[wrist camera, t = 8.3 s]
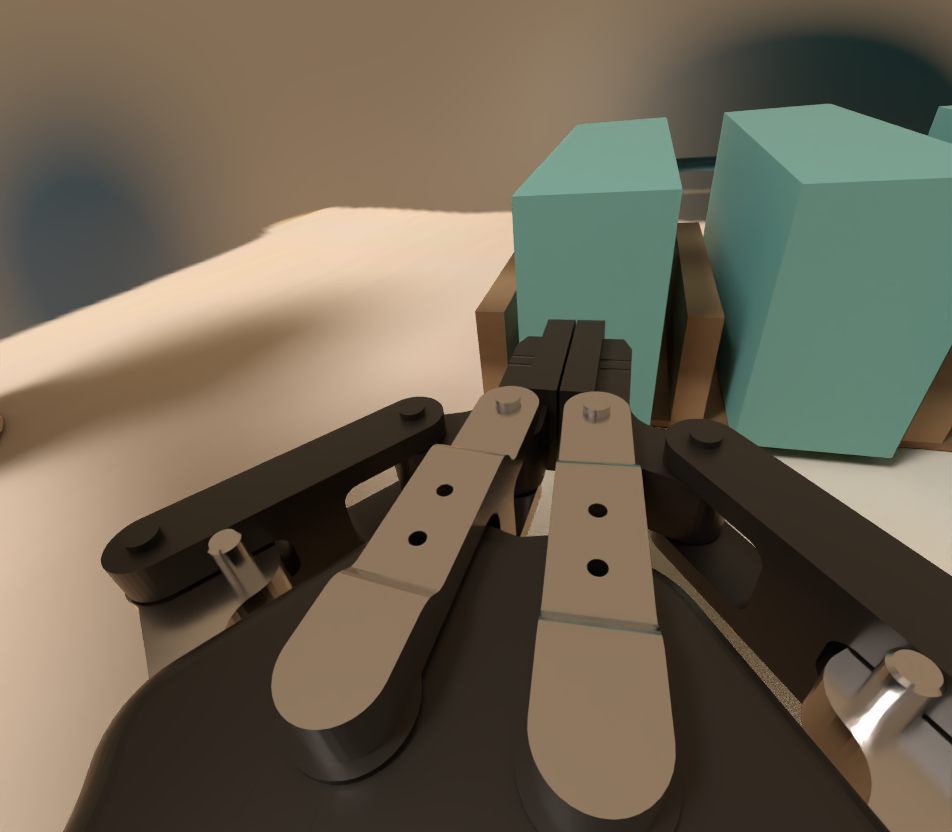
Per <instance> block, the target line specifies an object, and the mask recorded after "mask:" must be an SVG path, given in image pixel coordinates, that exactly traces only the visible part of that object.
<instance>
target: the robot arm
mask: <svg viewBox="0 0 952 832" xmlns="http://www.w3.org/2000/svg"><path fill="white" fill-rule="evenodd" d="M631 362H632V348H631V347H630V346H629V345H628V343H627V342H626V341H625V340H624V339H605V321H604V320H577V324H576V320H562V319H548V321H547V324H546V327H545V330H544V332H543V335H542V337H540V336H528V337H526V338H525V339H524V340H523V341H521V342H520V343H519V344H517V346H516V348H515V350H514V353H513V356H512V357H511V360H510V362H509V365H508V366H507V369H506V371H505V373H504V376H503V378H502V380H501V382H500V385H499V387H498V388H495V389H492V390H490V391H488V392H486V393H485V394H483V395H482V396H481V398H480V399H479V400H478V402H477V404H476V405H475V407H474V409H473V410H472V411H468V412H462V413H454V414H446V415H444V412H443V407H442V405H441V404H440V403H439V402H438V401H436V400H434V399H432V398H428V397H412V398H407V399H403V400H401V401H398V402H396V403H394V404H392V405H389V406H387V407H385V408H383V409H381V410H378V411H376V412H374V413H372V414H370V415H367V416H365V417H363V418H361V419H359V420H356V421H354V422H352V423H350V424H348V425H345V426H343V427H341V428H339V429H337V430H334V431H332V432H330V433H328V434H326V435H323V436H321V437H319V438H317V439H315V440H312V441H310V442H308V443H306V444H304V445H301V446H299V447H297V448H295V449H293V450H291V451H288V452H286V453H284V454H282V455H280V456H277V457H275V458H273V459H271V460H269V461H266V462H264V463H262V464H260V465H258V466H255V467H253V468H251V469H249V470H247V471H244V472H242V473H240V474H238V475H236V476H233V477H231V478H229V479H227V480H225V481H222V482H220V483H218V484H216V485H214V486H211V487H209V488H207V489H205V490H203V491H200V492H198V493H196V494H194V495H192V496H189V497H187V498H185V499H183V500H181V501H178V502H176V503H174V504H172V505H170V506H167V507H165V508H163V509H161V510H159V511H156V512H154V513H152V514H150V515H148V516H145V517H143V518H141V519H139V520H137V521H135V522H133V523H132V524H130V525H128V526H127V527H126V528H124V529H123V530H121V531H120V532H119V533H118V534H117V535H116V536H115V537H114V538H113V539H112V540H111V541H110V542H109V543H108V544H107V546H106V548H105V549H104V551H103V554H102V557H101V564H102V567H103V568H104V569H105V571H106V572H107V573H108V574H109V575H110V576H111V577H112V579H113V580H114V581H115V582H116V583H117V584H118V585H119V587H120V588H121V589H122V590H123V591H124V592H125V596H126V598H127V600H128V601H129V602H130V603H131V604H132V605H133V606H134V608H135V609H136V610H137V611H138V612H139V614H140V620H141V627H142V633H143V640H144V646H145V653H146V659H147V666H148V672H149V680H148V681H147V682H146V683H145V684H144V685H143V686H141V687H140V688H139V689H138V690H137V691H136V692H135V693H134V694H133V696H132V697H131V698H130V699H129V700H128V701H127V702H126V703H125V705H124V706H123V707H122V708H121V710H120V711H119V712H118V714H117V715H116V716H115V718H114V719H113V721H112V722H111V724H110V725H109V727H108V729H107V730H106V732H105V733H104V735H103V737H102V739H101V741H100V743H99V745H98V747H97V749H96V751H95V753H94V756H93V759H92V761H91V764H90V767H89V770H88V773H87V776H86V779H85V782H84V785H83V787H82V790H81V793H80V795H79V798H78V800H77V803H76V805H75V807H74V810H73V812H72V815H71V817H70V819H69V821H68V823H67V825H66V827H65V829H64V831H63V832H952V576H951V575H949V574H948V573H946V572H945V571H943V570H942V569H940V568H939V567H937V566H936V565H934V564H933V563H931V562H930V561H928V560H927V559H925V558H924V557H922V556H921V555H919V554H918V553H916V552H915V551H913V550H912V549H911V548H909V547H908V546H906V545H905V544H903V543H902V542H900V541H899V540H897V539H896V538H894V537H893V536H891V535H890V534H888V533H887V532H885V531H884V530H882V529H881V528H879V527H878V526H876V525H875V524H873V523H872V522H870V521H869V520H867V519H866V518H864V517H863V516H862V515H860V514H859V513H857V512H856V511H854V510H853V509H851V508H850V507H848V506H847V505H845V504H844V503H842V502H841V501H839V500H838V499H836V498H835V497H833V496H832V495H830V494H829V493H827V492H826V491H824V490H823V489H821V488H820V487H818V486H817V485H815V484H814V483H813V482H811V481H810V480H808V479H807V478H805V477H804V476H802V475H801V474H799V473H798V472H796V471H795V470H793V469H792V468H790V467H789V466H787V465H786V464H784V463H783V462H781V461H780V460H778V459H777V458H775V457H774V456H772V455H771V454H769V453H768V452H766V451H765V450H764V449H762V448H761V447H759V446H758V445H756V444H755V443H753V442H752V441H750V440H749V439H747V438H746V437H744V436H743V435H741V434H740V433H738V432H737V431H735V430H734V429H732V428H730V427H729V426H727V425H725V424H722V423H719V422H716V421H712V420H707V419H687V420H682V421H679V422H677V423H675V424H673V425H672V426H671V427H670V428H669V429H668V431H665V430H661V429H658V428H655V427H652V426H649V425H647V424H645V423H643V422H642V421H640V420H639V419H638V418H636V416H635V415H634V414H633V413H632V411H631V409H630V385H631V364H632V363H631ZM3 423H4V421H3V419H2V417H1V415H0V432H1V431H2V428H3ZM393 466H395V468H396V472H397V475H398V479H399V481H397V482H396V483H394V484H392V485H390V486H388V487H386V488H384V489H383V490H381V491H379V492H377V493H375V494H373V495H371V496H370V497H368V498H366V499H364V500H362V501H360V502H358V503H356V504H355V505H353V506H351V507H349V508H346V505H345V499H346V496H347V494H348V493H349V491H350V490H351V489H352V488H353V487H355V486H356V485H358V484H360V483H362V482H364V481H366V480H368V479H370V478H372V477H374V476H376V475H377V474H379V473H381V472H383V471H385V470H387V469H389V468H391V467H393ZM545 470H553V471H555V478H554V488H553V498H552V508H551V517H550V527H549V536H531V537H527V534H528V531H529V528H530V526H531V523H532V520H533V517H534V514H535V511H536V508H537V505H538V502H539V500H540V497H541V493H542V489H541V483H542V481H543V478H544V474H545ZM725 519H726V520H727V521H728V522H729V523H730V524H731V525H733V526H734V527H735V528H736V529H737V530H738V531H740V532H741V533H742V534H743V535H744V536H745V537H746V538H748V539H749V540H750V541H751V542H752V543H753V545H754V546H755V547H756V548H755V547H754V546H753V545H752V544H751V543H749V542H748V541H747V540H746V539H745V538H744V537H743V536H741V535H740V534H739V533H738V532H737V531H736V530H735V529H733V528H732V527H731V526H730V525H729V524H728V523H727V522H725ZM648 529H649V530H651V531H650V533H651V538H652V540H653V542H654V544H655V545H656V547H657V548H658V549H659V550H660V551H661V552H662V553H663V554H664V555H665V556H666V558H667V559H668V560H669V561H670V562H671V563H672V564H673V565H674V566H675V567H676V568H677V569H678V571H679V572H680V573H681V574H682V575H683V576H684V577H685V578H686V579H687V580H688V581H689V582H690V583H691V585H692V586H693V587H694V588H695V589H696V590H697V591H698V592H699V593H700V594H701V595H702V596H703V598H704V599H705V600H706V601H707V602H708V603H709V604H710V605H711V606H712V607H713V608H714V609H715V610H716V612H717V613H718V614H719V615H720V616H721V617H722V618H723V619H724V620H725V621H726V622H727V623H728V625H729V626H730V627H731V628H732V629H733V630H734V631H735V632H736V633H737V634H738V635H739V636H740V637H741V639H742V640H743V641H744V642H745V643H746V644H747V645H748V646H749V647H750V648H751V649H752V650H753V652H754V653H755V654H756V655H757V656H758V657H759V658H760V659H761V660H762V661H763V662H764V663H765V664H766V666H767V667H768V668H769V669H770V670H771V671H772V672H773V673H774V674H775V675H776V676H777V677H778V679H779V680H780V681H781V682H782V683H783V684H784V685H785V686H786V687H787V688H788V689H789V690H790V691H791V693H792V694H793V695H794V696H795V697H796V698H797V699H798V700H799V701H800V702H801V703H802V707H801V723H802V727H803V728H802V727H801V726H800V725H799V723H798V722H797V721H796V720H795V719H794V718H793V716H792V715H791V714H790V713H789V712H788V710H787V709H786V708H785V707H784V706H783V705H782V703H781V702H780V701H779V700H778V699H777V698H776V696H775V695H774V694H773V693H772V692H771V690H770V689H769V688H768V687H767V686H766V685H765V683H764V682H763V681H762V680H761V679H760V678H759V676H758V675H757V674H756V673H755V672H754V670H753V669H752V668H751V667H750V666H749V665H748V663H747V662H746V661H745V660H744V659H743V658H742V656H741V655H740V654H739V653H738V652H737V651H736V649H735V648H734V647H733V646H732V645H731V643H730V642H729V641H728V640H727V639H726V638H725V636H724V635H723V634H722V633H721V632H720V631H719V629H718V628H717V627H716V626H715V625H714V623H713V622H712V621H711V620H710V619H709V618H708V616H707V615H706V614H705V613H704V612H703V611H702V609H701V608H700V607H699V606H698V605H697V603H696V602H695V601H694V600H693V599H692V598H691V597H690V596H689V595H688V594H687V593H686V592H685V591H684V590H683V589H682V588H681V587H679V586H678V585H677V584H676V583H674V582H673V581H672V580H670V579H669V578H668V577H666V576H665V575H663V574H661V573H660V572H658V571H657V570H655V569H653V568H652V567H651V557H650V548H649V538H648Z"/></svg>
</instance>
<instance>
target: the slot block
mask: <svg viewBox="0 0 952 832" xmlns="http://www.w3.org/2000/svg"><path fill="white" fill-rule="evenodd" d="M475 314H476V323H477V332H478V342H479V351H480V360H481V370H482V379H483V388H484V394H485V393H486V392H488V391H490V390H492V389H495V388H498V387H499V385H500V382H501V380H502V378H503V376H504V373H505V371H506V369H507V366H508V365H509V362H510V360H511V357H512V356H513V353H514V350H515V348H516V346H517V344H519V329H518V310H517V291H516V272H515V254H514V253H513V255H512V256H511V258H510V259H509V261H508V262H507V264H506V266H505V267H504V269H503V270H502V272H501V273H500V275H499V276H498V278H497V279H496V281H495V282H494V284H493V285H492V287H491V288H490V290H489V291H488V293H487V294H486V296H485V297H484V299H483V301H482V302H481V304H480V305H479V307H478V308H477V310H476V311H475ZM724 319H725V316H724V313H723V309H722V305H721V302H720V298H719V294H718V291H717V287H716V283H715V280H714V276H713V272H712V269H711V265H710V261H709V258H708V254H707V250H706V247H705V243H704V239H703V236H702V232H701V228H700V225H699V222H696V223H678V224H677V231H676V239H675V246H674V253H673V260H672V268H671V275H670V282H669V289H668V297H667V304H666V311H665V318H664V326H663V333H662V340H661V347H660V355H659V362H658V369H657V376H656V384H655V391H654V398H653V405H652V413H651V420H650V426H661V427H671V426H672V425H673V424H675V423H677V422H679V421H682V420H687V419H707V420H712V421H716V422H719V423H722V424H725V425H727V426H729V424H728V419H727V414H726V410H725V405H724V400H723V395H722V390H721V385H720V380H719V376H718V371H717V366H716V356H717V352H718V347H719V343H720V338H721V333H722V329H723V324H724ZM898 447H908V448H920V449H932V450H943V451H952V345H951V347H950V349H949V351H948V353H947V355H946V357H945V359H944V360H943V362H942V364H941V366H940V368H939V370H938V372H937V374H936V375H935V377H934V379H933V381H932V383H931V385H930V387H929V389H928V391H927V392H926V394H925V396H924V398H923V400H922V402H921V404H920V406H919V408H918V409H917V411H916V413H915V415H914V417H913V419H912V421H911V423H910V424H909V426H908V428H907V430H906V432H905V434H904V436H903V438H902V440H901V441H900V443H899V445H898Z"/></svg>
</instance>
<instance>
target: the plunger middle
mask: <svg viewBox="0 0 952 832" xmlns="http://www.w3.org/2000/svg"><path fill="white" fill-rule="evenodd" d="M703 239H704V243H705V247H706V250H707V254H708V258H709V261H710V265H711V269H712V272H713V276H714V280H715V283H716V287H717V291H718V294H719V298H720V302H721V305H722V309H723V313H724V316H725V319H724V324H723V329H722V333H721V338H720V343H719V347H718V352H717V356H716V366H717V371H718V376H719V380H720V385H721V390H722V395H723V400H724V405H725V410H726V414H727V419H728V424H729V427H730V428H732V429H734V430H735V431H737V432H738V433H740V434H741V435H743V436H744V437H746V438H747V439H749V440H750V441H752V442H753V443H755V444H756V445H758V446H762V447H773V448H784V449H795V450H806V451H817V452H828V453H839V454H850V455H861V456H873V457H884V458H892V457H893V455H894V453H895V451H896V449H897V447H898V445H899V443H900V441H901V440H902V438H903V436H904V434H905V432H906V430H907V428H908V426H909V424H910V423H911V421H912V419H913V417H914V415H915V413H916V411H917V409H918V408H919V406H920V404H921V402H922V400H923V398H924V396H925V394H926V392H927V391H928V389H929V387H930V385H931V383H932V381H933V379H934V377H935V375H936V374H937V372H938V370H939V368H940V366H941V364H942V362H943V360H944V359H945V357H946V355H947V353H948V351H949V349H950V347H951V345H952V144H951V143H948V142H945V141H942V140H939V139H936V138H933V137H930V136H926V135H923V134H920V133H917V132H914V131H911V130H908V129H905V128H902V127H899V126H896V125H893V124H890V123H887V122H884V121H881V120H878V119H875V118H871V117H868V116H865V115H862V114H859V113H856V112H853V111H850V110H847V109H844V108H841V107H838V106H835V105H832V104H821V105H808V106H796V107H784V108H773V109H761V110H749V111H736V112H726V113H724V118H723V124H722V130H721V136H720V142H719V147H718V153H717V159H716V165H715V171H714V177H713V183H712V189H711V194H710V200H709V206H708V212H707V219H706V224H705V230H704V236H703Z"/></svg>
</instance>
